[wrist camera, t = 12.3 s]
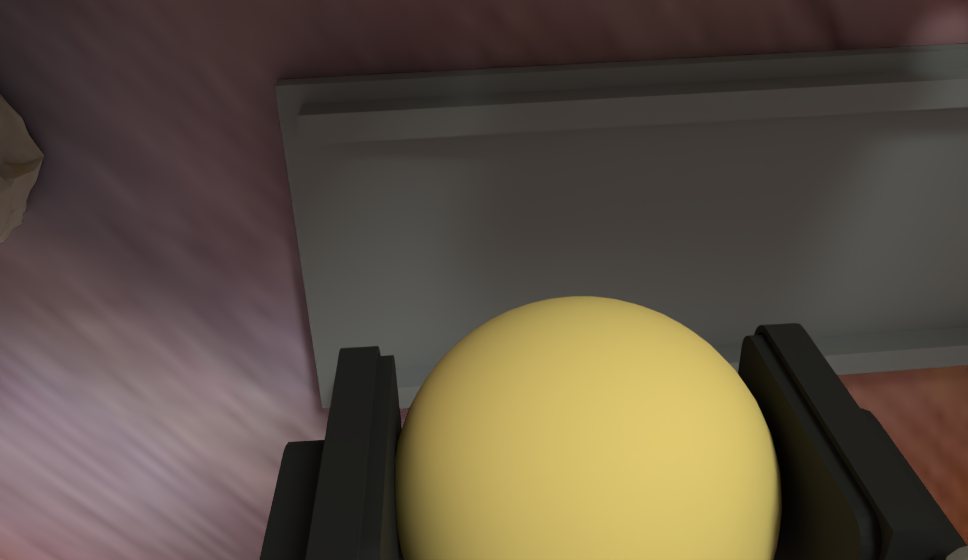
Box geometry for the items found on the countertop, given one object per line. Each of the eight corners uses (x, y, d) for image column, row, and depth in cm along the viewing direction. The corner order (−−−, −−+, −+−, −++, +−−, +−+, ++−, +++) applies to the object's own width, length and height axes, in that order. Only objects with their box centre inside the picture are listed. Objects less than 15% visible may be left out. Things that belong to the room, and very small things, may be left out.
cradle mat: (1150, 33, 19) (1199, 46, 17) (1048, 342, 22) (1083, 369, 21) (277, 79, 17) (268, 96, 16) (323, 396, 21) (319, 428, 20)
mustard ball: (733, 222, 12) (899, 459, 8) (698, 481, 15) (810, 769, 10) (384, 239, 12) (358, 492, 8) (410, 499, 15) (401, 798, 10)
